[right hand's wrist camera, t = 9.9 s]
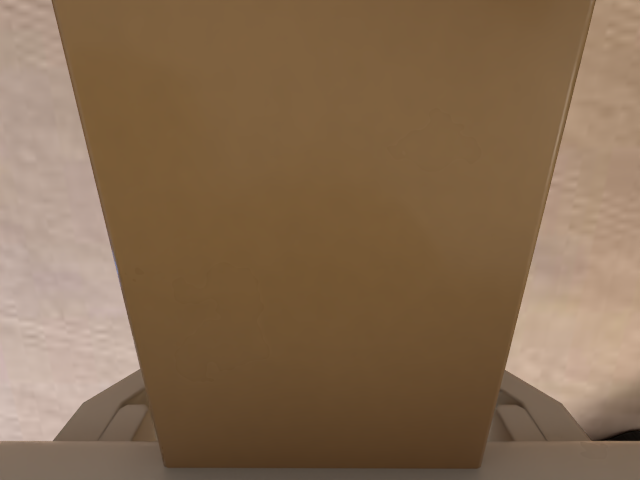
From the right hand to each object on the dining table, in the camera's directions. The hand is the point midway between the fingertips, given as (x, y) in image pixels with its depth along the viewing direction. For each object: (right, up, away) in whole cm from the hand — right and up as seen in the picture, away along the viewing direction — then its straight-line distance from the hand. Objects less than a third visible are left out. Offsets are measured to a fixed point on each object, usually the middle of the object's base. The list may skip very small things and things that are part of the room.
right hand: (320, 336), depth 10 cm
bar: (0, +10, -1) cm, 10 cm away
